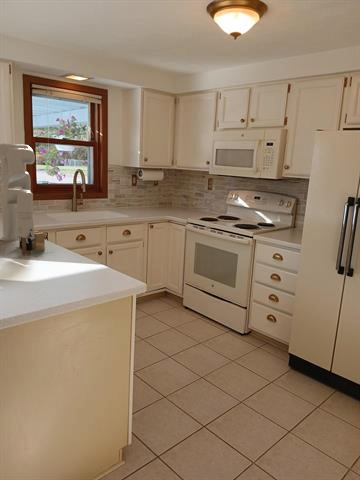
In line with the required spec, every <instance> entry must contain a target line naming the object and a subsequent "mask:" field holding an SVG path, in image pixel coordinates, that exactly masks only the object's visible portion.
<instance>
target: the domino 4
mask: <svg viewBox="0 0 360 480" xmlns="http://www.w3.org/2000/svg"><path fill="white" fill-rule="evenodd" d="M34 237H35V239H34V250H35V252H40V251H45V250H46V248H45V247H46V246H45V242H46V241H45V232H39V233H35V234H34Z"/></svg>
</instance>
